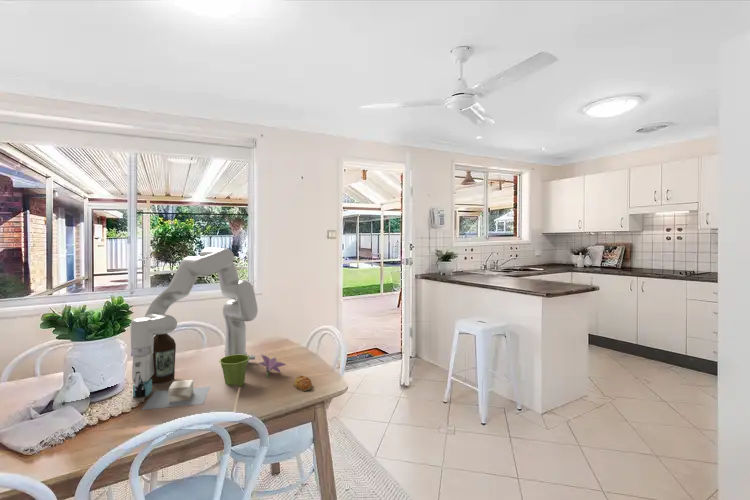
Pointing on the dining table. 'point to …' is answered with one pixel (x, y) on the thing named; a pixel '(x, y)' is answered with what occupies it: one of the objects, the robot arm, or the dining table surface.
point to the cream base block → (180, 390)
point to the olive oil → (163, 358)
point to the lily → (271, 364)
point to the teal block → (145, 387)
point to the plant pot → (234, 368)
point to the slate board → (162, 401)
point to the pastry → (303, 383)
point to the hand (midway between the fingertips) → (142, 396)
